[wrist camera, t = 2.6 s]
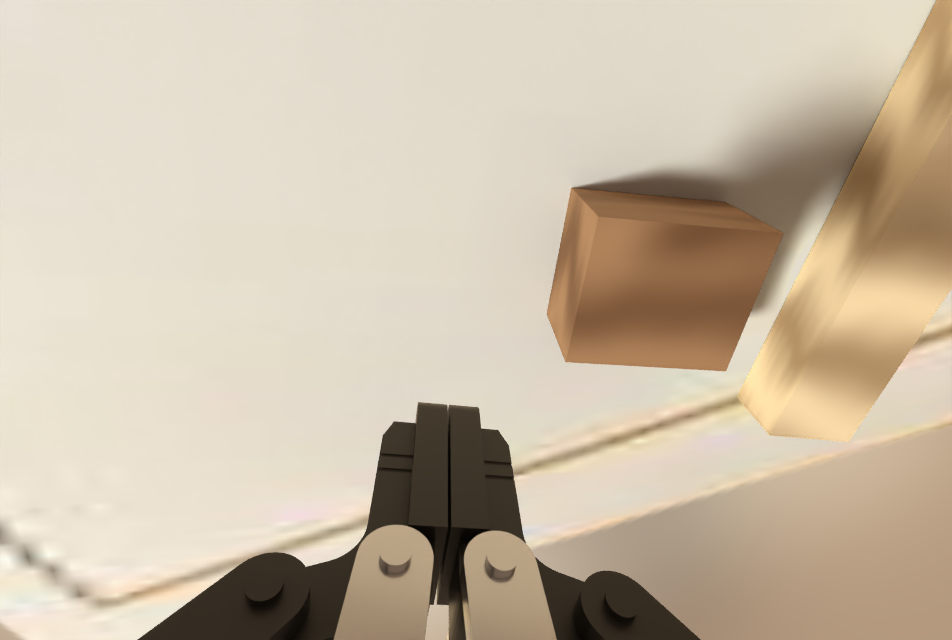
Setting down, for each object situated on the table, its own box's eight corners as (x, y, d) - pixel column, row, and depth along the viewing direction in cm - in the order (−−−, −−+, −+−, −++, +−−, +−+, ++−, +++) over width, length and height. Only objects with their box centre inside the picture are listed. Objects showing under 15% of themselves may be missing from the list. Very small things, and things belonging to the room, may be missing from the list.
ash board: (977, -82, 19) (1076, -107, 16) (1082, -57, 20) (1196, -77, 17) (737, 397, 31) (769, 435, 28) (809, 403, 31) (848, 441, 28)
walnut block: (570, 186, 24) (598, 217, 20) (723, 201, 25) (783, 233, 20) (546, 312, 27) (565, 361, 23) (682, 321, 28) (725, 371, 24)
